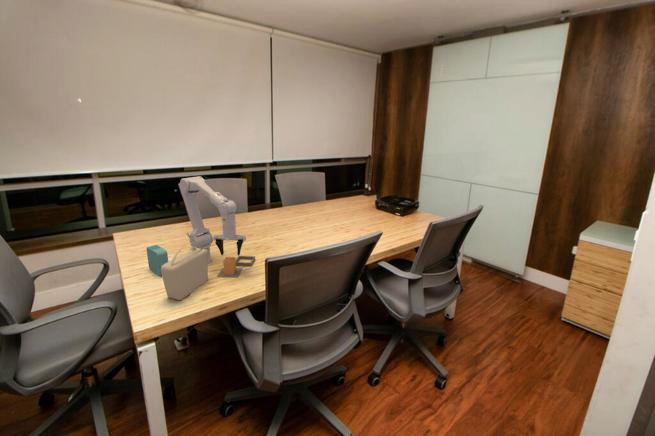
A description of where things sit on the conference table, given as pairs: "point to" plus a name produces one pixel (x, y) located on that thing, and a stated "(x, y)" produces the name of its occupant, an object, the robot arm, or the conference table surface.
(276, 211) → the conference table surface
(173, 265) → the radio
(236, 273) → the stud plate
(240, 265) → the tray
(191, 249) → the robot arm
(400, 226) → the conference table surface
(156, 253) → the data package
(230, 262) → the orange brown block
